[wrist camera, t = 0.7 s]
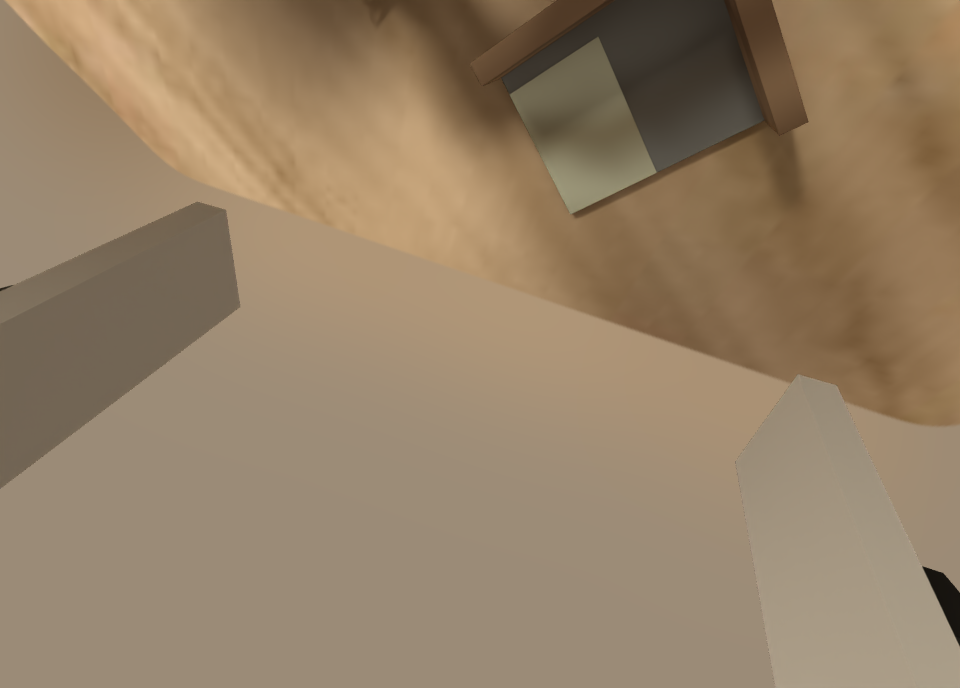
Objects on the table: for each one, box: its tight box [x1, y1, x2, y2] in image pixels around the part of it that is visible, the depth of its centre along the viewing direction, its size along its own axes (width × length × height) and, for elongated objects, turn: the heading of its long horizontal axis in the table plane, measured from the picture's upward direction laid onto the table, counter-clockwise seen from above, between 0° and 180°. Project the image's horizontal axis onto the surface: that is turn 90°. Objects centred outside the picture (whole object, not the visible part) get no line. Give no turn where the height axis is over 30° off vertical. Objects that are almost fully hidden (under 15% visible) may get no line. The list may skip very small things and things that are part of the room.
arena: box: [470, 0, 808, 215], centre depth 26 cm, size 10×13×4 cm
